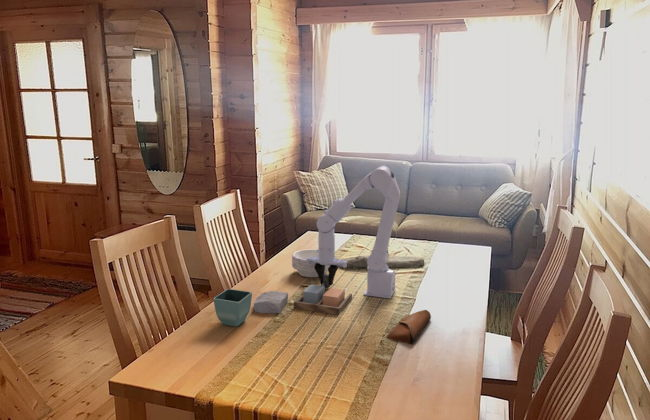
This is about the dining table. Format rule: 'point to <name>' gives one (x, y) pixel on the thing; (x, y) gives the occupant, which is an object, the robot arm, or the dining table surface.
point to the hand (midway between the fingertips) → (326, 284)
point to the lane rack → (322, 306)
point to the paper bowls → (305, 262)
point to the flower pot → (232, 306)
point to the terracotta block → (334, 297)
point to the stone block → (271, 302)
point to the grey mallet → (316, 291)
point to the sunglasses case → (410, 327)
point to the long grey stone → (392, 262)
